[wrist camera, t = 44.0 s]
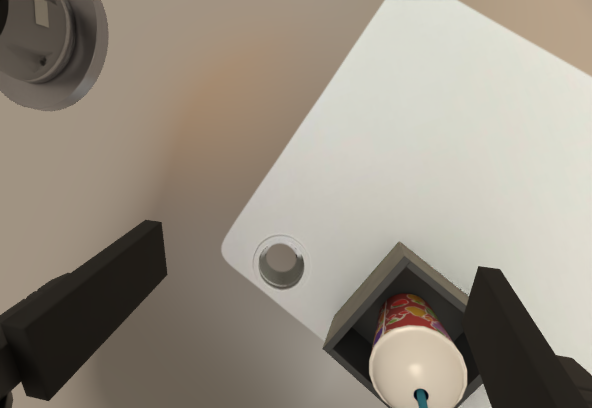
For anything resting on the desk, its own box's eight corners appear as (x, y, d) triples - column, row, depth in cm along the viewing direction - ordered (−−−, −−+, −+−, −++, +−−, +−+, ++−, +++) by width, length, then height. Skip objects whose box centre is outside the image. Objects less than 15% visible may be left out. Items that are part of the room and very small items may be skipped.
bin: (334, 315, 47) (322, 348, 38) (399, 241, 45) (404, 255, 35) (414, 386, 45) (424, 440, 35) (488, 312, 42) (519, 348, 33)
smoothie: (359, 320, 45) (344, 420, 26) (397, 271, 44) (410, 337, 25) (413, 361, 44) (440, 498, 25) (454, 311, 43) (516, 416, 23)
